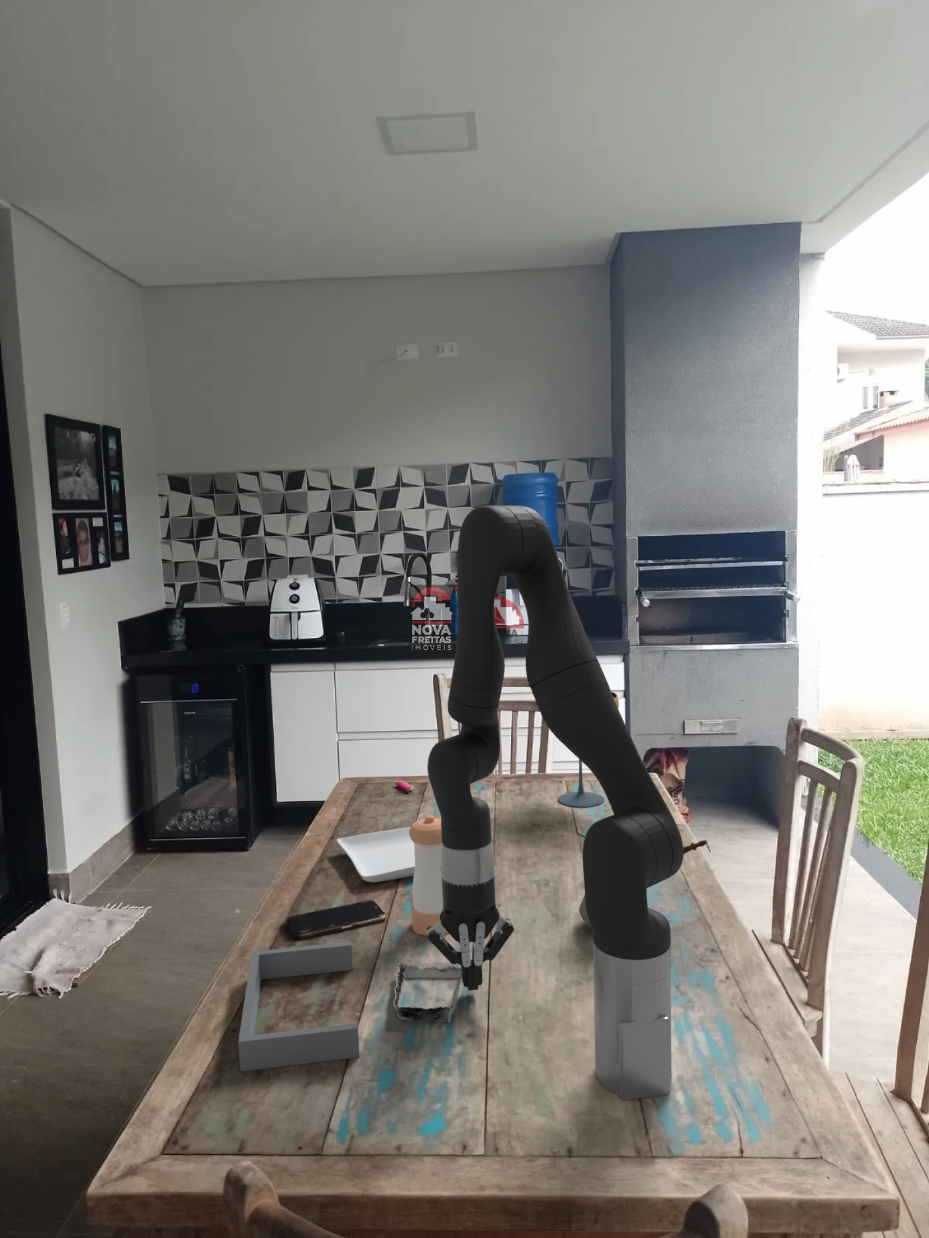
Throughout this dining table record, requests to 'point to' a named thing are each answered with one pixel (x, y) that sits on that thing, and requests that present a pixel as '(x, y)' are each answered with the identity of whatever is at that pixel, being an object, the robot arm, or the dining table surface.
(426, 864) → the pepper shaker
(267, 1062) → the bin
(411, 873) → the salad plate
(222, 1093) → the dining table surface
